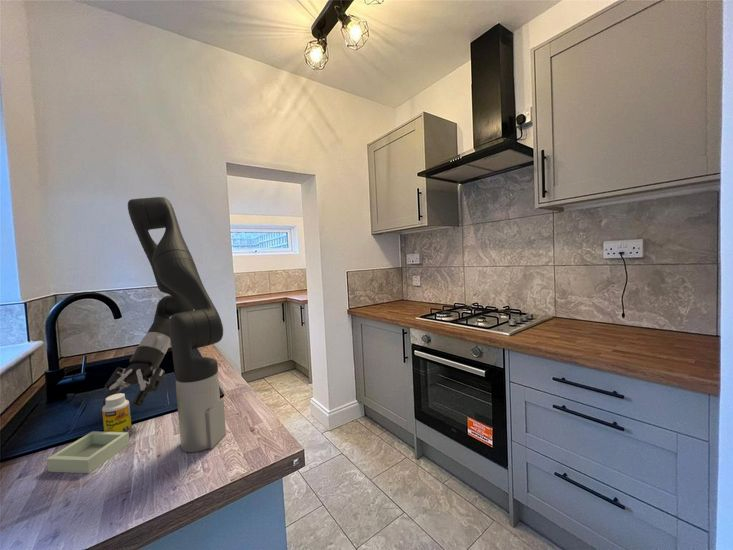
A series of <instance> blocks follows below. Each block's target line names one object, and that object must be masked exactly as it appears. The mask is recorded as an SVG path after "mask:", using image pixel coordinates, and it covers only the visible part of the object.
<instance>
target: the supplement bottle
mask: <svg viewBox="0 0 733 550" xmlns="http://www.w3.org/2000/svg"><path fill="white" fill-rule="evenodd" d="M104 399H105V398H104ZM105 401H106V403H105V404H106V405H103V407H102V410H101V412H102V423H103V432H130V431H131V430H132V417H131V405H130V403H131V402H130V401H129V400H128V399H126V395H125V393H121V392H120V393H119V392H118V394H114V395H111V396H109V397H107V398H106V399H105Z"/></svg>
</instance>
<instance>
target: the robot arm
mask: <svg viewBox="0 0 733 550" xmlns="http://www.w3.org/2000/svg"><path fill="white" fill-rule="evenodd" d="M127 210H128V215H129V217H130V221H131V223H132V226H133V229H134V230H135V234H136V235H137V238H138V241H139V242H140V245H141V247H142V249H143V252H144V253H145V255H146V258H147V260H148V262H149V264H150V266H151V270H152V273H153V276H154V278H155V283H156V285H157V289H158V291H160V292H161V293H164V294H167V295H165V296H163V297H162V298H160V299H159V301H158V302H157V305H156V310H155V314H154V317H153V322H152V324H151V326H150V327H149V329H148V330H147V332H146V333H145V335H144V337H142V339H141V341H140V342H139V344H138V346H137V347H136V349H135V351H134V352H133V354H132V356H131V358H130V359H129V365H128V367H126V368H123V367H120V366H118V367H116V368H115V370H114V371H113V372H112V374H111V375H110V377H109V378H108V380H107V382H105V384H104V388H106V389H107V390H108V392H107V394H106V395H105V397H104V399H103V401H102V405H103V406H105V405H106V404H105V403H106V401H105V399H106V398H107V397H109V396H111V395H114V394H119V392H120V391H122V390H123V389H124V388H128V387H129V386H130V385H131V386H134V385H139V388H140V390H139V391H138V392H137V394H136V395H135V398H134V400H133V401H132V404H131V406H133V407H135V408H140V407H141V406H142V405H143V403H144V401H145V399H146V398H147V396H148V394H150V393H151V392H156V391H158V389H159V387H160V384H161V382H162V380H163V377H164V375H165V373H166V371H165V370H164V369H162V368H161V367H160V365H161V363H162V362H163V359H164V358H165V355H166V354H167V351H168V349H169V347H171V352H172V361H173V369H174V370H173V371H174V377H175V378H174V379H175V391H176V393H175V394H176V402H177V403H176V404H177V416H178V417H177V418H178V428H179V439H180V440H179V441H180V449H181V450H182V451H183V452H186V453H196V452H201V451H206V450H210V449H214V447H215V446H216V445H217V444H219V442H220V441H221V440H222V439H223V437H224V436H225V435H226V434H227V430H226V416H225V415H226V412H225V400H224V399H223V398H220V397H221V396H220V395H221V394H220V379H219V365H218V364H219V363H218V361H217V360H216V359H215V358H213V357H207V356H195V355H193V353H192V350H195V349H200V348H204V347H207V346H211V345H215V344H217V343H219V342H220V341H222V339H223V337H224V326H223V322H222V320H221V317H220V314H219V312H218V309H216V306H215V305H214V303H213V301H212V299H211V298H210V296H209V294H208V292H207V290H206V288H205V286H204V284H203V282H202V281H203V280H201V276H200V274H199V272H198V269H197V266H196V263H195V261H194V259H193V256H192V254H191V252H190V249H189V247H188V245H187V243H186V241H185V239H184V237H183V234H182V230H181V228H180V225H179V222H178V219H177V216H176V212H175V210H174V207H173V205H172V203H171V201H170V200H169V199H168V198H167V197H164V196H162V197H161V196H156V197H154V196H152V197H144V198H143V197H142V198H140V197H139V198H131V199H130V200H128V202H127ZM164 228H165V230H164V233H163V236H162V237H161V239H160V241H159V242H158V243H156V242H155V240H154V239H153V238H152V236H151V234H150V232H149V231H151V230H157V229H164ZM170 345H171V346H170Z"/></svg>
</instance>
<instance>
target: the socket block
mask: <svg viewBox="0 0 733 550" xmlns="http://www.w3.org/2000/svg"><path fill="white" fill-rule="evenodd" d="M129 432H130V431H129ZM129 432H104V431H96V430H95V431H90V432H88V433H87V434H86V435H84V436H82V437H81V438H78V439H77V440H75V441H74V442H72V443H71V444H69V445H67V446H65V447H64V448H62V449H60V450H59V451H57V452H56V453H54V454H52V455H50V456H48V457H47V458H46V464H47V472H50V473H73V474H90V473H92V472H93V471H94V470H96V469H97V468H98V467H100V466H102V465H103V464H104V463H106V462H107V461H108V460H109V459H112V457H114V456H115V455H117V454H118V453H120V452H121V451H122V450H123V449H125V448H126V447H127V446H129V445H130V434H129Z"/></svg>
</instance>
